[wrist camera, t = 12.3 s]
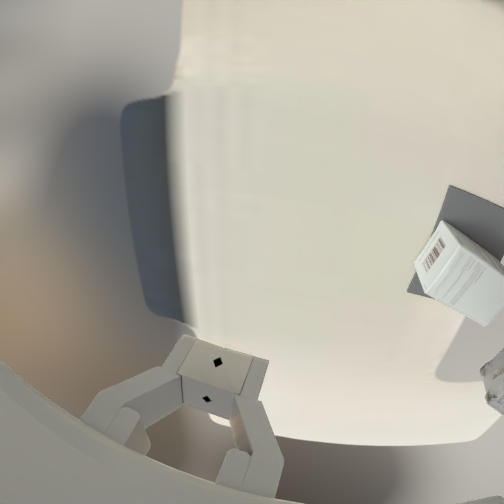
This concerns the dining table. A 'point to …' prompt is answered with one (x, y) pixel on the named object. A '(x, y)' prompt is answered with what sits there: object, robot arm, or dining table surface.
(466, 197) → the mat
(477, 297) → the supplement box
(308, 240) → the dining table surface
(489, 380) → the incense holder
